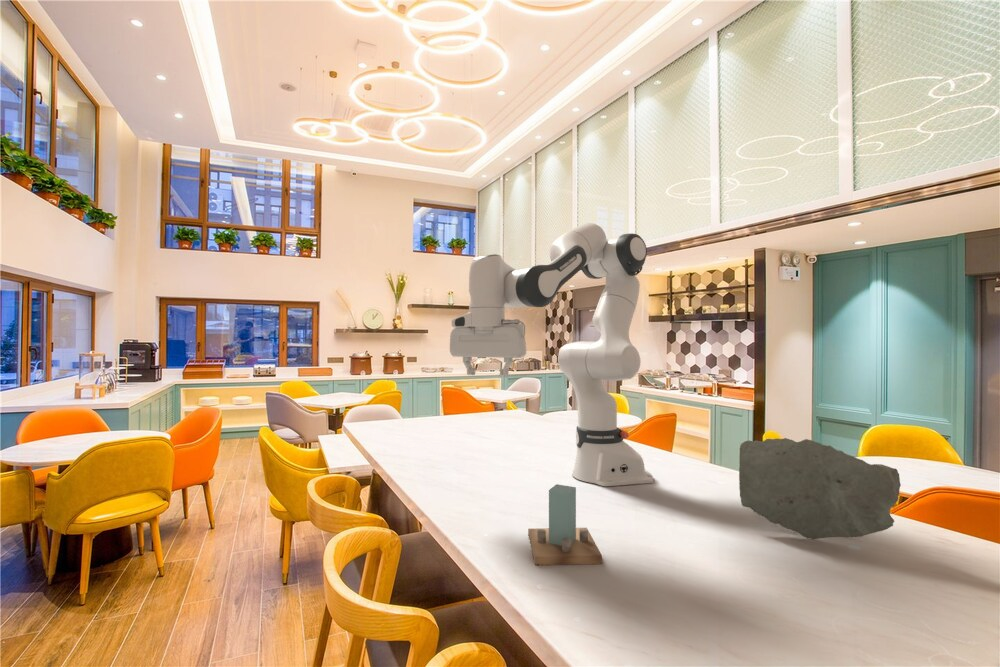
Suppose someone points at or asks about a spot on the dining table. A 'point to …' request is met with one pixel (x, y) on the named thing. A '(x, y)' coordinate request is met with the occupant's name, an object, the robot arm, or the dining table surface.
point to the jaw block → (562, 514)
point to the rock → (816, 488)
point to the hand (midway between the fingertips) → (487, 375)
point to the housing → (564, 548)
